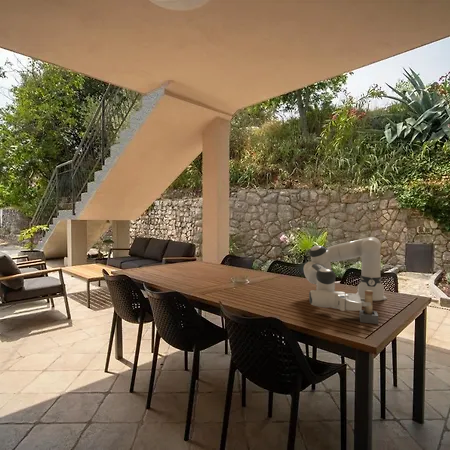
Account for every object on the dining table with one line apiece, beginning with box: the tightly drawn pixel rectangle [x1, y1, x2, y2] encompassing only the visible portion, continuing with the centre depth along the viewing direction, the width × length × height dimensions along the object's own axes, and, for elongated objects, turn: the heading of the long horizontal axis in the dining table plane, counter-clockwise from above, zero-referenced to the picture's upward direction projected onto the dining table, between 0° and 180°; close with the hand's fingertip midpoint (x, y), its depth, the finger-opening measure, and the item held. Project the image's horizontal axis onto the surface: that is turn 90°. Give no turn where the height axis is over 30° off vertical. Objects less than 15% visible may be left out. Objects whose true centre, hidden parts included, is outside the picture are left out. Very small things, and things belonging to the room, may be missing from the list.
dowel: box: [364, 290, 374, 314], centre depth 161 cm, size 4×4×13 cm
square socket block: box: [358, 309, 379, 325], centre depth 162 cm, size 8×8×4 cm
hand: (370, 302), depth 161 cm, fingers closed on dowel, 4 cm apart
